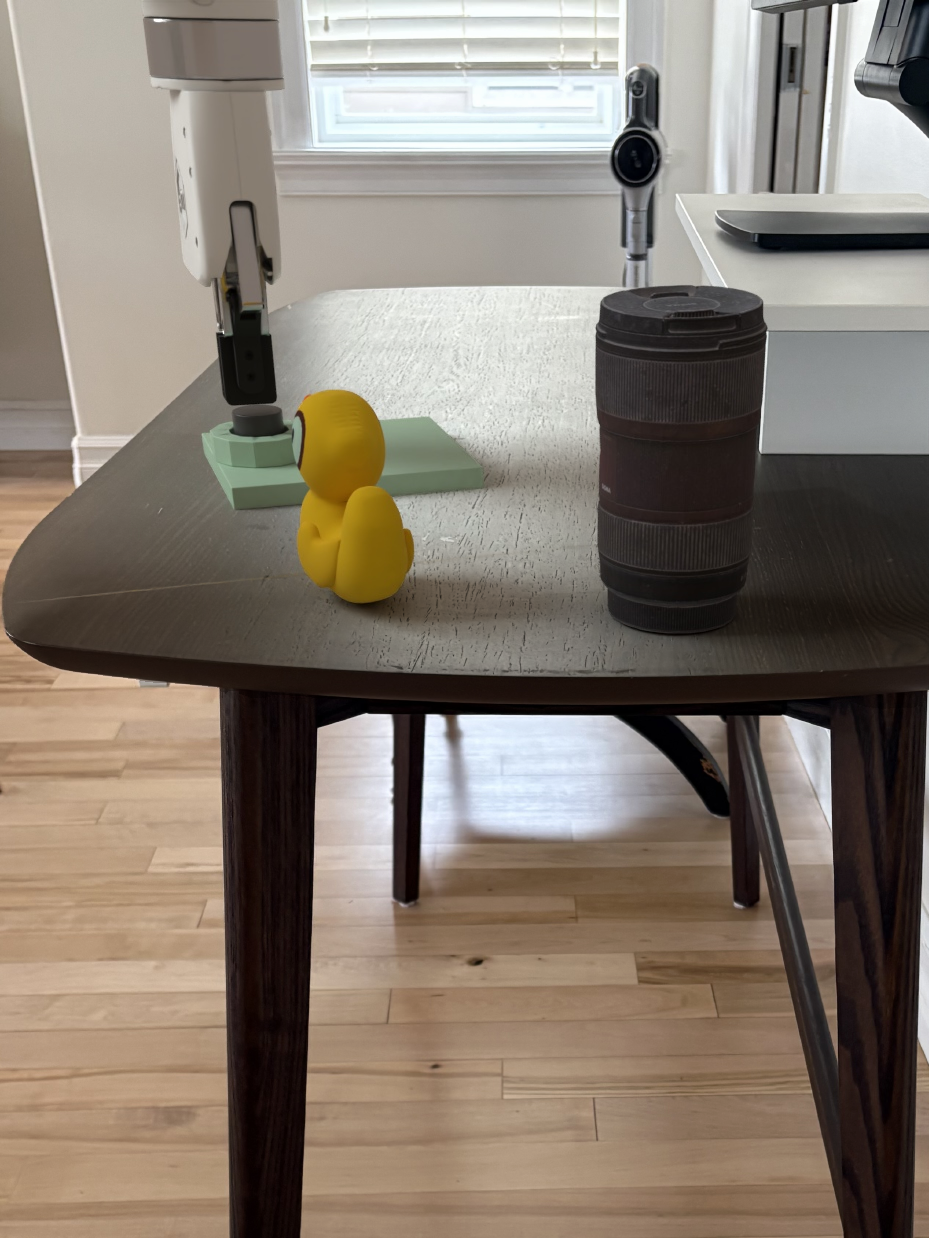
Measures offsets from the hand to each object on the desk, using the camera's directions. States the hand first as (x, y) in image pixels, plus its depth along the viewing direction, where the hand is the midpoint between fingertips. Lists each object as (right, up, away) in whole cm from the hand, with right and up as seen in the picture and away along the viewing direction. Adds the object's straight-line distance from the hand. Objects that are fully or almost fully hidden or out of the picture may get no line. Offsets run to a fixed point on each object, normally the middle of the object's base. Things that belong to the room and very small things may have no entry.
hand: (250, 401), depth 96 cm
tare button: (0, -2, +2) cm, 2 cm away
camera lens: (+26, -19, -17) cm, 36 cm away
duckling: (+9, -17, -15) cm, 24 cm away
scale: (+5, -3, +4) cm, 7 cm away
